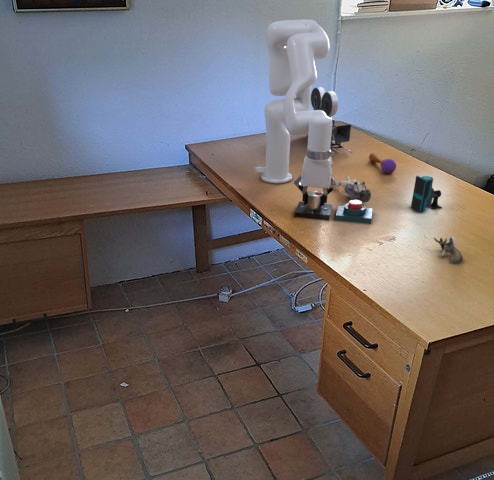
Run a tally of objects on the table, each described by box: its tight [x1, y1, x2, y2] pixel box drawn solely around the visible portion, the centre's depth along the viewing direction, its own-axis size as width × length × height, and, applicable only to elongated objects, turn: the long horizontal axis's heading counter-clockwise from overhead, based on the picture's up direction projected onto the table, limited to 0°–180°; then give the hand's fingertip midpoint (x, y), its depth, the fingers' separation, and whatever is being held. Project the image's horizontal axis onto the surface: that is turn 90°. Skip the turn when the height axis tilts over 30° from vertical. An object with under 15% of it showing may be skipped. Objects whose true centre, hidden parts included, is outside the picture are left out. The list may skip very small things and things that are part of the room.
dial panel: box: [294, 201, 334, 221], centre depth 197 cm, size 12×10×2 cm
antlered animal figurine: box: [433, 235, 464, 265], centre depth 166 cm, size 8×7×9 cm
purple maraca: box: [368, 152, 397, 175], centre depth 236 cm, size 6×6×20 cm
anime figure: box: [332, 173, 372, 204], centre depth 210 cm, size 10×7×30 cm
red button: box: [348, 199, 363, 210], centre depth 192 cm, size 4×4×2 cm
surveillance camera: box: [410, 175, 443, 214], centre depth 196 cm, size 6×12×10 cm
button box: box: [334, 202, 374, 225], centre depth 193 cm, size 12×9×4 cm
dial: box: [306, 190, 324, 211], centre depth 195 cm, size 6×6×6 cm
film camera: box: [305, 86, 354, 155], centre depth 261 cm, size 40×12×24 cm, turn 17°
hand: (314, 203), depth 196 cm, fingers closed on dial, 5 cm apart
